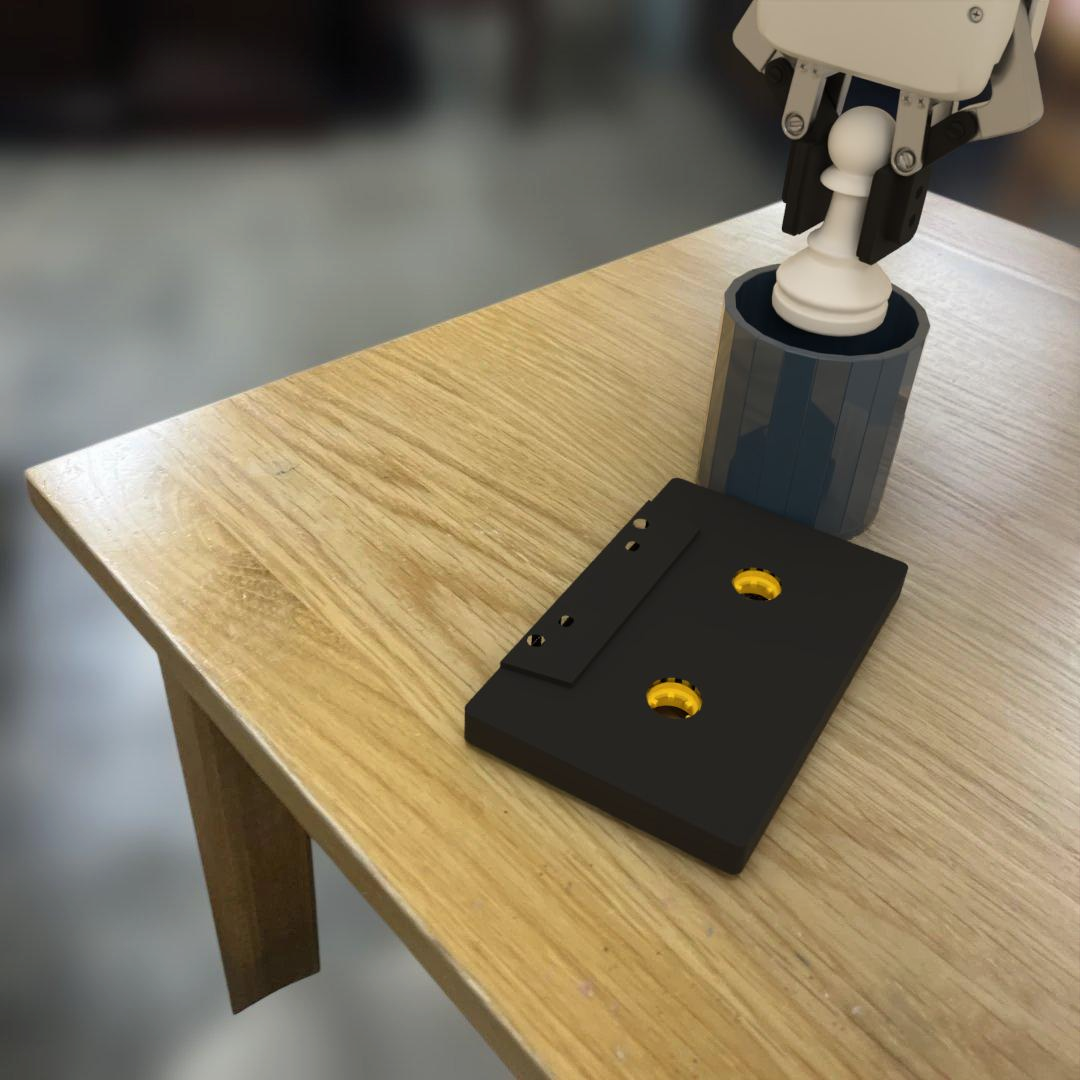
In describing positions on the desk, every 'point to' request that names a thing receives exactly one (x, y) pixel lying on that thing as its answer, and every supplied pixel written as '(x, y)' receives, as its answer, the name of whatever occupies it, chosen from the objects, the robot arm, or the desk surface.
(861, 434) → the pen holder
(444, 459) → the desk surface
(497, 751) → the cassette tape
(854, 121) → the chess pawn
